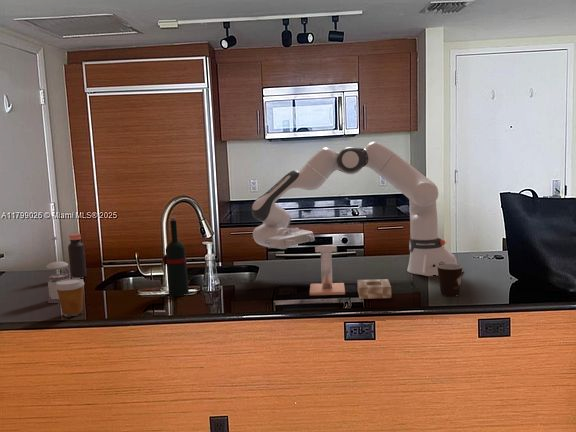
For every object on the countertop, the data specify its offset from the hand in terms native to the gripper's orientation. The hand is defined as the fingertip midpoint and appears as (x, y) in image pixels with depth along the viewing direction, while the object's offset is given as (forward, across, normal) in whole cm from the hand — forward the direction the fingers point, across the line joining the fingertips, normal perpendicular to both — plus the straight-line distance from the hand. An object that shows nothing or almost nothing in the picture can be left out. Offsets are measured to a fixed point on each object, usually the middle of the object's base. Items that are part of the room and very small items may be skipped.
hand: (304, 241), depth 212 cm
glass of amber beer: (-35, -80, +16) cm, 89 cm away
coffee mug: (+50, +25, +19) cm, 59 cm away
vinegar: (-92, -57, +16) cm, 109 cm away
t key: (+12, 0, +17) cm, 21 cm away
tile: (+12, 0, +18) cm, 21 cm away
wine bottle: (-31, -41, +17) cm, 54 cm away
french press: (-59, -75, +16) cm, 97 cm away
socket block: (+28, +6, +18) cm, 34 cm away
